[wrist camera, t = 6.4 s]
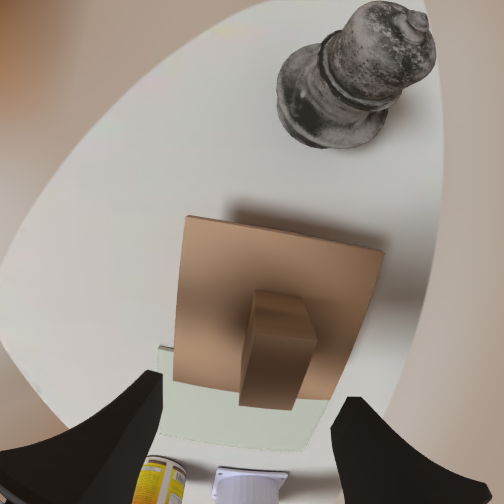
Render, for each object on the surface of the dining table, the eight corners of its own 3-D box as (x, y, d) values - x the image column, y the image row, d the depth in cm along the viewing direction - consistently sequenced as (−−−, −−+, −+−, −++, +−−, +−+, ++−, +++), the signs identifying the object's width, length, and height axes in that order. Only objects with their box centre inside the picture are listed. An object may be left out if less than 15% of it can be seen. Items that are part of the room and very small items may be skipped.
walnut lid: (327, 394, 17) (343, 446, 12) (174, 374, 16) (156, 427, 12) (380, 250, 14) (424, 280, 10) (188, 214, 14) (158, 234, 9)
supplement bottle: (135, 463, 25) (114, 526, 15) (151, 448, 24) (129, 522, 14) (175, 481, 26) (162, 544, 16) (195, 468, 24) (184, 541, 15)
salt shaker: (370, 83, 15) (494, 6, 3) (354, 165, 16) (502, 165, 5) (282, 55, 14) (321, -83, 3) (262, 139, 16) (282, 63, 4)
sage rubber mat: (301, 448, 23) (301, 451, 23) (161, 431, 23) (160, 433, 22) (339, 371, 20) (340, 374, 20) (159, 345, 20) (157, 348, 19)
